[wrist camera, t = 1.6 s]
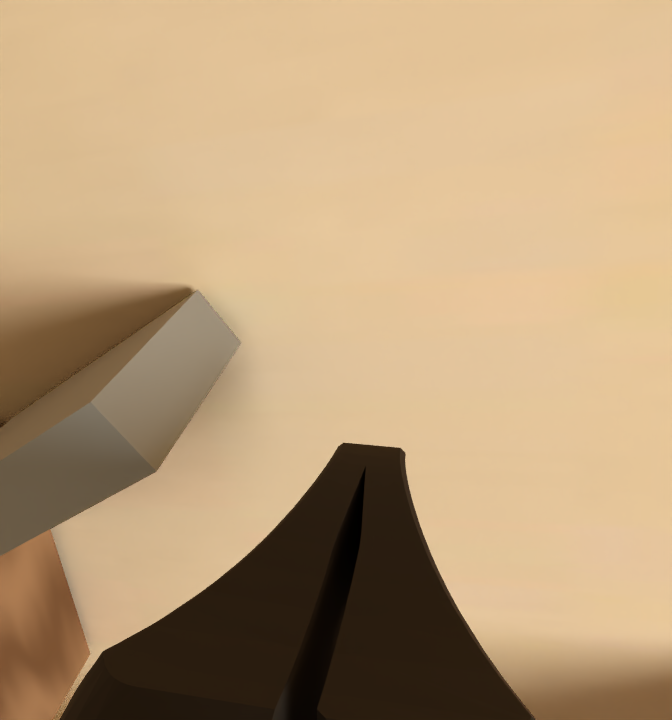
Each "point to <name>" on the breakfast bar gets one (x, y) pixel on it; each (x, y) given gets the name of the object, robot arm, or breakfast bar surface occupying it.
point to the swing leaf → (109, 420)
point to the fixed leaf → (37, 632)
